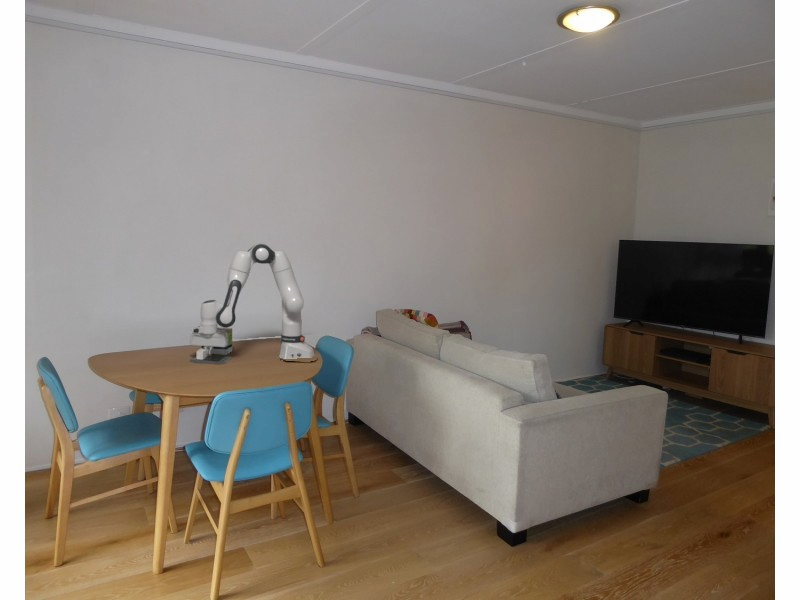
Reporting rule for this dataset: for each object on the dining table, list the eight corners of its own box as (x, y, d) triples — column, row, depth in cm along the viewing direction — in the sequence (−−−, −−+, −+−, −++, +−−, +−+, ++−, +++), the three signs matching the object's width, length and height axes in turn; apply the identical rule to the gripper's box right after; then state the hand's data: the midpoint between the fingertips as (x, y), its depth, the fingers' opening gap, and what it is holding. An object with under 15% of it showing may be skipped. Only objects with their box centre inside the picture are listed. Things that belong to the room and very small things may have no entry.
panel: (231, 358, 313) (231, 356, 313) (222, 364, 299) (222, 361, 299) (200, 356, 314) (200, 354, 314) (189, 362, 300) (189, 359, 300)
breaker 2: (211, 354, 312) (211, 347, 312) (209, 355, 309) (209, 348, 309) (205, 354, 313) (205, 346, 312) (203, 355, 310) (203, 347, 309)
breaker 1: (205, 358, 304) (205, 350, 303) (202, 359, 301) (202, 351, 300) (198, 357, 304) (198, 349, 303) (196, 359, 301) (196, 351, 300)
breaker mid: (207, 356, 308) (207, 348, 307) (205, 357, 305) (205, 349, 304) (201, 356, 308) (201, 348, 308) (199, 357, 305) (199, 349, 305)
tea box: (232, 352, 330) (232, 327, 328) (225, 355, 320) (226, 330, 318) (208, 350, 331) (208, 325, 330) (200, 353, 321) (201, 328, 320)
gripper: (229, 329, 307) (229, 353, 309) (193, 327, 308) (193, 351, 310) (225, 331, 301) (225, 356, 303) (188, 329, 302) (188, 354, 303)
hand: (208, 353), depth 306 cm, fingers closed
